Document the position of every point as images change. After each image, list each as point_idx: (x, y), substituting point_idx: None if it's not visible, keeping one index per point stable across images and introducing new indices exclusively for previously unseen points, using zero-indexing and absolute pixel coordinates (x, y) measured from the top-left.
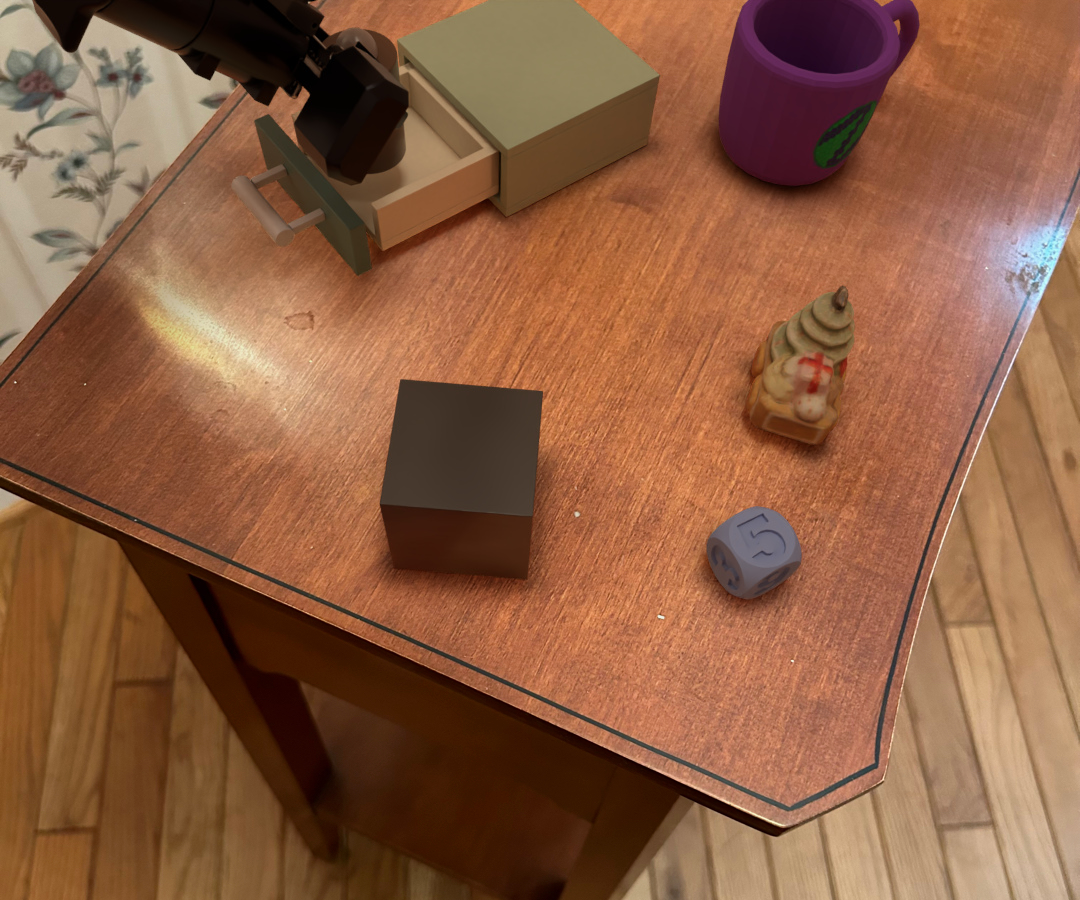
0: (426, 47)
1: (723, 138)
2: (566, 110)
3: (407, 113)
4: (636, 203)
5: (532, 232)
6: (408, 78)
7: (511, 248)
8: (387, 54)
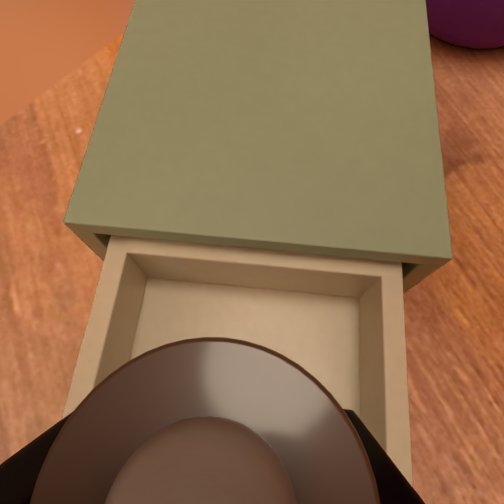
0: (124, 195)
1: (458, 29)
2: (418, 123)
3: (355, 413)
4: (460, 160)
5: (435, 293)
6: (131, 258)
7: (446, 338)
8: (290, 406)
